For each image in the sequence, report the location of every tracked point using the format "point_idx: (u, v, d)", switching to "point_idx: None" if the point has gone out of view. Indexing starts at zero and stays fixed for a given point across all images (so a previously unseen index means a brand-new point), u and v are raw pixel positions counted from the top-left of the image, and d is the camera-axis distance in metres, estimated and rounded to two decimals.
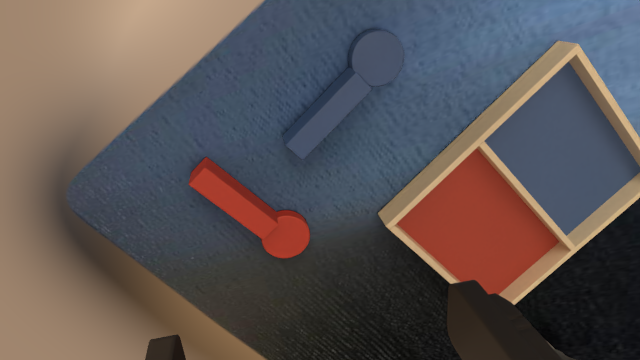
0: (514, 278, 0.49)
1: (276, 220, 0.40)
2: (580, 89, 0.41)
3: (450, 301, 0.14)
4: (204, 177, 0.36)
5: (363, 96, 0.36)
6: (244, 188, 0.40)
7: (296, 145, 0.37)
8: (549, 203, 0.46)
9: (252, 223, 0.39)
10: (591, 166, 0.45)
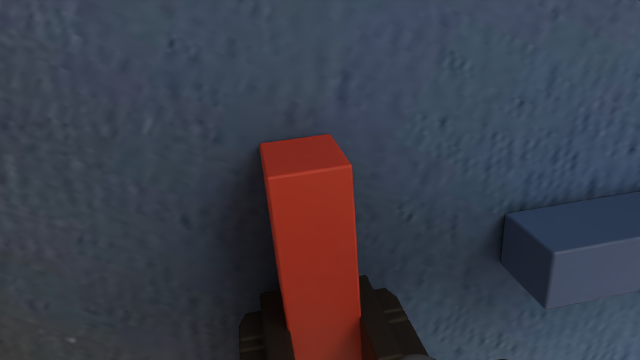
0: None
1: None
2: None
3: None
4: (324, 191, 0.11)
5: None
6: None
7: (570, 270, 0.13)
8: None
9: None
10: None
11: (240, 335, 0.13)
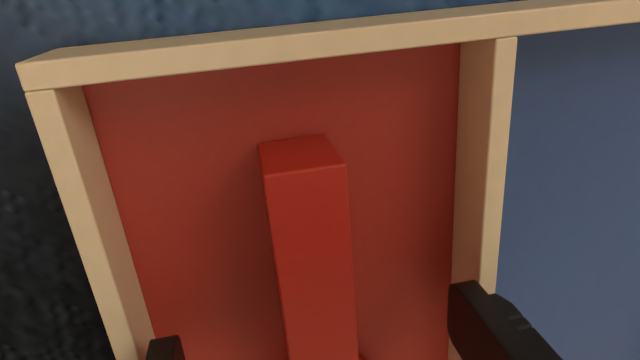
0: None
1: None
2: None
3: (450, 301, 0.14)
4: (319, 188, 0.11)
5: None
6: None
7: None
8: None
9: None
10: (612, 323, 0.18)
11: None
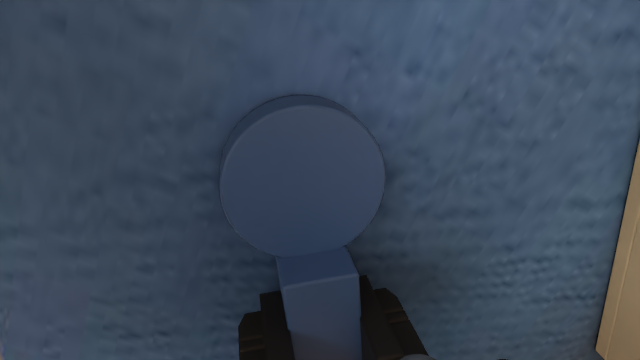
0: None
1: None
2: None
3: None
4: None
5: (355, 303, 0.12)
6: None
7: None
8: None
9: None
10: None
11: (240, 335, 0.13)
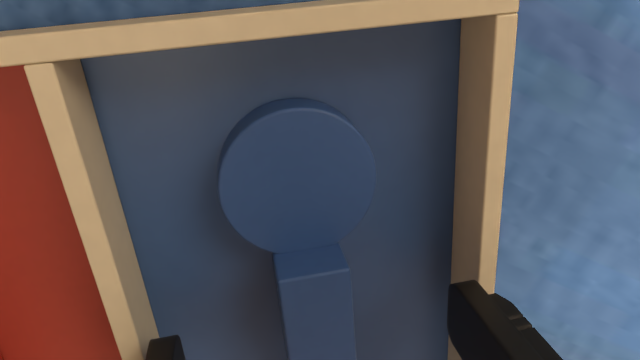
0: None
1: None
2: (440, 158, 0.14)
3: (450, 301, 0.14)
4: None
5: (347, 297, 0.13)
6: None
7: None
8: None
9: None
10: None
11: None
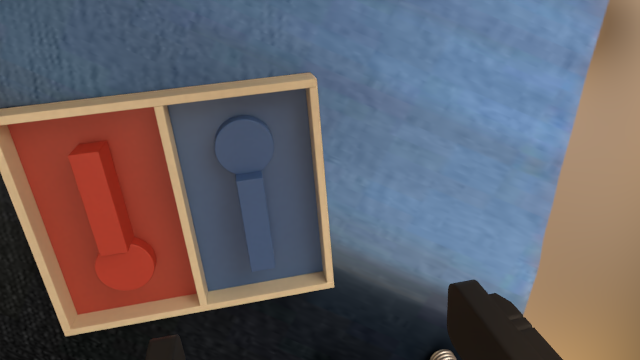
0: (128, 303, 0.38)
1: (128, 246, 0.34)
2: (304, 138, 0.36)
3: (450, 301, 0.14)
4: (89, 160, 0.31)
5: (262, 189, 0.34)
6: (120, 195, 0.34)
7: (258, 264, 0.36)
8: (211, 241, 0.38)
9: (102, 234, 0.33)
10: (275, 230, 0.38)
11: None
